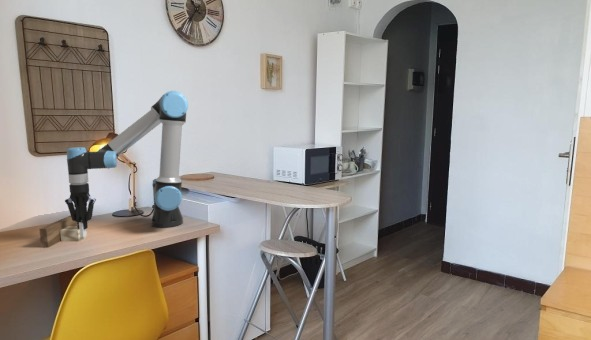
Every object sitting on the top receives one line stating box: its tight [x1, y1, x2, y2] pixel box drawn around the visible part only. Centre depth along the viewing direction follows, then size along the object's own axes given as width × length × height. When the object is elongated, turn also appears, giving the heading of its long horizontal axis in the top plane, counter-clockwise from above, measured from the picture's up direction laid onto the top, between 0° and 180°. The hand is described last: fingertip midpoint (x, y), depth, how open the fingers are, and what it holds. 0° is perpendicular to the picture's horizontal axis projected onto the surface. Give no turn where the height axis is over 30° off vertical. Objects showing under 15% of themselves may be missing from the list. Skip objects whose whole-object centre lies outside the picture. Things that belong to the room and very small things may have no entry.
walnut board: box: [39, 215, 77, 248], centre depth 190 cm, size 3×22×8 cm, turn 177°
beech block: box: [60, 226, 87, 242], centre depth 190 cm, size 8×6×5 cm
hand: (83, 236), depth 190 cm, fingers closed
